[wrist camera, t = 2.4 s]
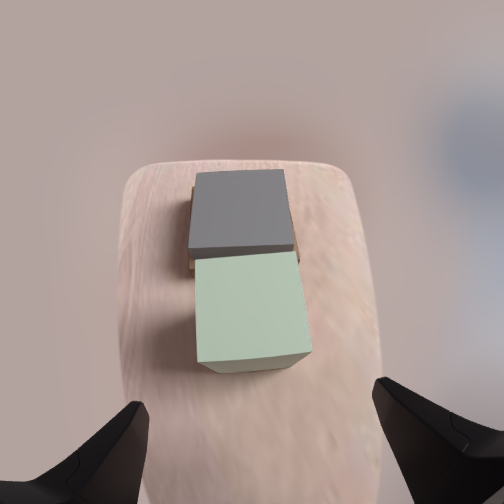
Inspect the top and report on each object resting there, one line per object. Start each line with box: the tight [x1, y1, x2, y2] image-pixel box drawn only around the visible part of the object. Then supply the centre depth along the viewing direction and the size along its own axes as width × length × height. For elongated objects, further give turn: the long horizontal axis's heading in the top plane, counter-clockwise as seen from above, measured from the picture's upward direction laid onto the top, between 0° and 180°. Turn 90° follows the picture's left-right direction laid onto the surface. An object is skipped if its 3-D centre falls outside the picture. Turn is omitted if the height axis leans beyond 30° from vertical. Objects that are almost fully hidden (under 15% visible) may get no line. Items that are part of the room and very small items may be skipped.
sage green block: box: [195, 251, 313, 374], centre depth 17 cm, size 6×6×8 cm
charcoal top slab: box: [188, 169, 294, 260], centre depth 23 cm, size 8×8×2 cm
